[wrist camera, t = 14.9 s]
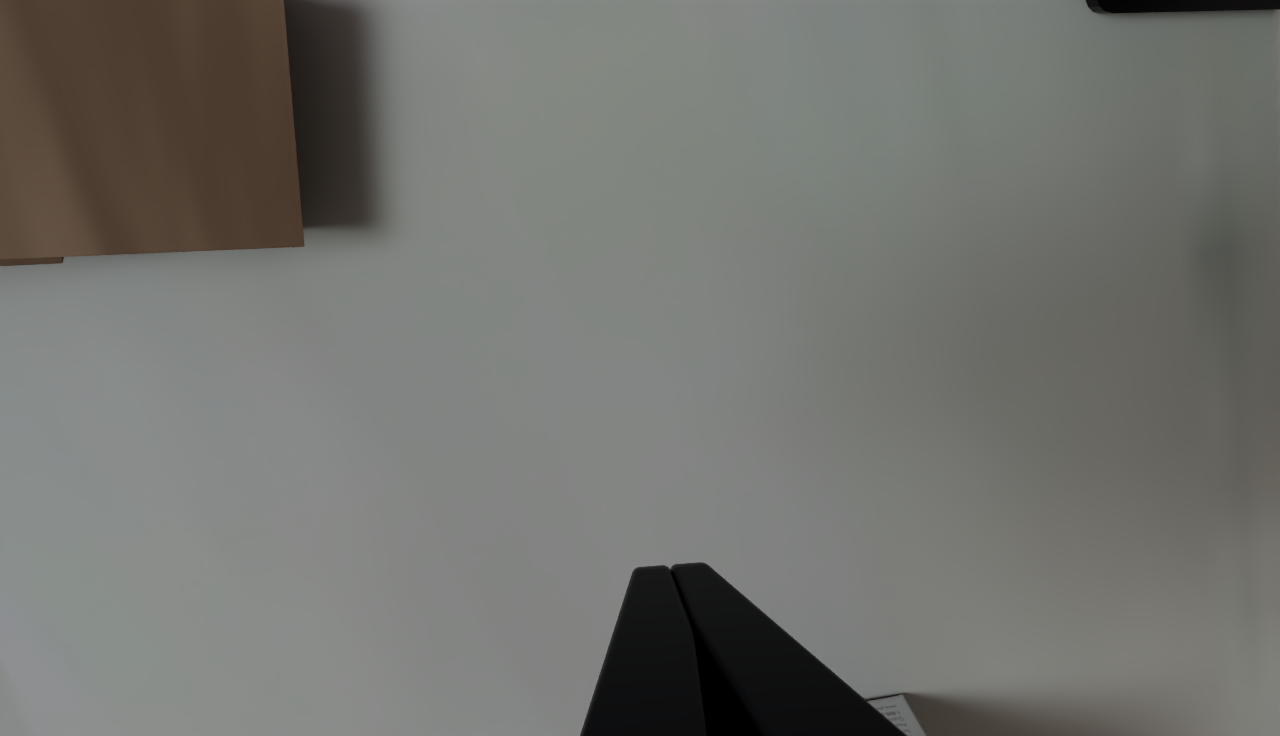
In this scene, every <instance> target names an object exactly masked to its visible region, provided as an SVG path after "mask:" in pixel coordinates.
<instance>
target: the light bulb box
mask: <svg viewBox="0 0 1280 736" xmlns="http://www.w3.org/2000/svg"><path fill="white" fill-rule="evenodd" d="M867 702H868V703H870V704H871V705H872V706H873V707H874V708H875V709H877V710H878V711H879V712H880V713H881V714H882V715H884V716H885V717H886V718H887V719H888V720H889V721H891V722H892V723H893V724H894V725H895V726H896V727H898V728H899V729H900V730H901V731H902V732H903V733H905V734H906V735H907V736H928V735H927V733H926V731H925V729H924V728H923V726H922V724H921V722H920V720H919V719H918V717H917V715H916V713H915V712H914V710H913V708H912V706H911V704H910V703H909V701H908V699H907V697H906V696H905V695H904V694H900V695H898V696H893V697H887V698H882V699H876V700H871V701H867Z"/></svg>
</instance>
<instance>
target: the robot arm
mask: <svg viewBox="0 0 1280 736" xmlns="http://www.w3.org/2000/svg"><path fill="white" fill-rule="evenodd" d="M1086 2H1087V5H1088V7H1089V8H1090V9H1091V10H1092V11H1093V12H1096V13H1142V12H1184V11H1226V10H1268V9H1280V0H1086ZM580 736H907V735H906V734H905V733H903V732H902V731H901V730H900V729H899V728H898V727H896V726H895V725H894V724H893V723H892V722H891V721H889V720H888V719H887V718H886V717H885V716H884V715H882V714H881V713H880V712H879V711H878V710H877V709H875V708H874V707H873V706H872V705H871V704H870V703H868V702H867V701H866V700H865V699H864V698H863V697H861V696H860V695H859V694H858V693H857V692H856V691H854V690H853V689H852V688H851V687H850V686H849V685H847V684H846V683H845V682H844V681H843V680H842V679H840V678H839V677H838V676H837V675H836V674H835V673H833V672H832V671H831V670H830V669H829V668H828V667H826V666H825V665H824V664H823V663H822V662H821V661H819V660H818V659H817V658H816V657H815V656H814V655H812V654H811V653H810V652H809V651H808V650H807V649H805V648H804V647H803V646H802V645H801V644H800V643H798V642H797V641H796V640H795V639H794V638H793V637H791V636H790V635H789V634H788V633H787V632H786V631H784V630H783V629H782V628H781V627H780V626H779V625H777V624H776V623H775V622H774V621H773V620H772V619H770V618H769V617H768V616H767V615H766V614H765V613H763V612H762V611H761V610H760V609H759V608H758V607H756V606H755V605H754V604H753V603H752V602H751V601H749V600H748V599H747V598H746V597H745V596H744V595H742V594H741V593H740V592H739V591H738V590H737V589H735V588H734V587H733V586H732V585H731V584H730V583H728V582H727V581H726V580H725V579H724V578H723V577H721V576H720V575H719V574H718V573H717V572H716V571H714V570H713V569H712V568H711V567H710V566H709V565H707V564H705V563H701V562H699V563H686V564H675V565H673V566H672V567H671V569H669V568H668V567H667V566H664V565H660V566H647V567H638V568H636V569H634V571H633V573H632V575H631V579H630V582H629V585H628V588H627V591H626V594H625V597H624V600H623V603H622V607H621V610H620V613H619V616H618V619H617V622H616V625H615V628H614V632H613V635H612V638H611V641H610V644H609V647H608V650H607V653H606V657H605V660H604V663H603V666H602V669H601V672H600V675H599V678H598V681H597V685H596V688H595V691H594V694H593V697H592V700H591V703H590V706H589V710H588V713H587V716H586V719H585V722H584V725H583V728H582V731H581V734H580Z"/></svg>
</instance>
